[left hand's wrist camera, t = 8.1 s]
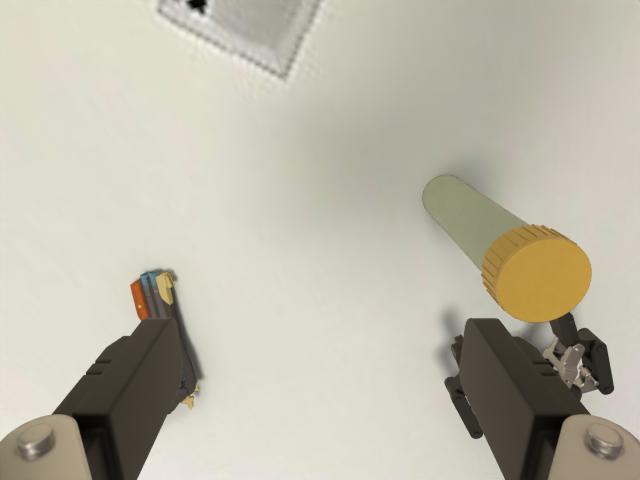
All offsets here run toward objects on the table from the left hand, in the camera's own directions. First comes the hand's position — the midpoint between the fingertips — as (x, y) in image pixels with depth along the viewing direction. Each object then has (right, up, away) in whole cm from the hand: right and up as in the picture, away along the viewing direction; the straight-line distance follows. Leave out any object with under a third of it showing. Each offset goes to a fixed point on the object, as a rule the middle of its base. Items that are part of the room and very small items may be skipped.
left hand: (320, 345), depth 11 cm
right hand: (+17, -5, +25) cm, 31 cm away
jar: (+12, +7, +28) cm, 31 cm away
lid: (+12, +1, +11) cm, 16 cm away
